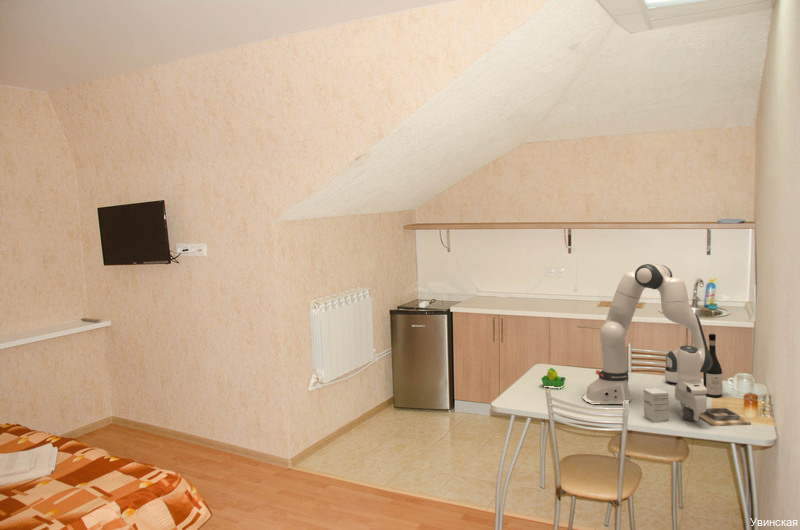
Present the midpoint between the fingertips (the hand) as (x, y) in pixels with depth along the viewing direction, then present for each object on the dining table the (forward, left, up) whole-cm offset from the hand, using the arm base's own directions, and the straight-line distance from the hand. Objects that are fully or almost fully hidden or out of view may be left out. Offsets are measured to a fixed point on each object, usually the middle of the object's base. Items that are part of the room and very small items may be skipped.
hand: (690, 416), depth 239 cm
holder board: (+13, 0, -2) cm, 13 cm away
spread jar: (+20, +57, -2) cm, 60 cm away
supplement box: (-13, +3, -2) cm, 14 cm away
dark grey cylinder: (0, 0, -2) cm, 2 cm away
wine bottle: (+27, +32, -2) cm, 42 cm away
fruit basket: (-44, +56, -2) cm, 71 cm away
